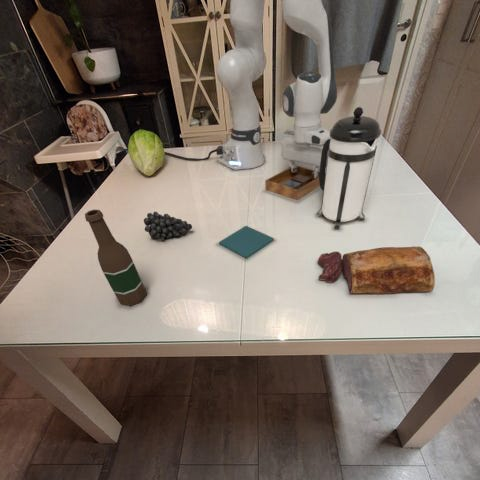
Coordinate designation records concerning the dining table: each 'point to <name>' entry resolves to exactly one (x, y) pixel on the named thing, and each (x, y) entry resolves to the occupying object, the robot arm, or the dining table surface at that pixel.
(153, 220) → the fruit
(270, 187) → the wooden tray
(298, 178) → the walnut coaster
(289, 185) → the slate coaster
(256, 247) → the mat
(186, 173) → the dining table surface
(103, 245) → the beer bottle
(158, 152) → the lettuce
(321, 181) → the coffee press
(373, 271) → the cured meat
